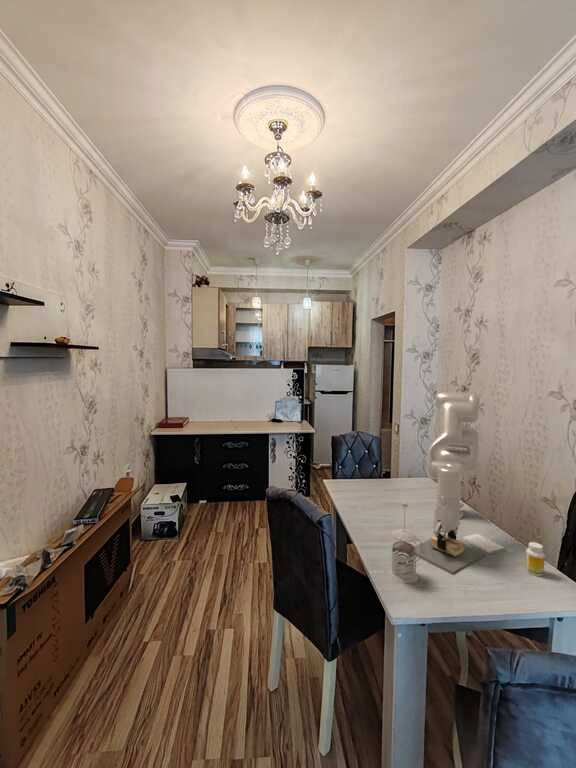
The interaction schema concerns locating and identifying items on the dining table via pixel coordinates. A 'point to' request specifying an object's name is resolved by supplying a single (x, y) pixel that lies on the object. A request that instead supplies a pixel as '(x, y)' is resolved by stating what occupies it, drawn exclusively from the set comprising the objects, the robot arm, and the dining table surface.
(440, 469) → the robot arm
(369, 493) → the dining table surface
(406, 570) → the french press
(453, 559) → the rubber mat
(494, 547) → the external hard drive
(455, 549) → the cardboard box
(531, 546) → the supplement bottle
